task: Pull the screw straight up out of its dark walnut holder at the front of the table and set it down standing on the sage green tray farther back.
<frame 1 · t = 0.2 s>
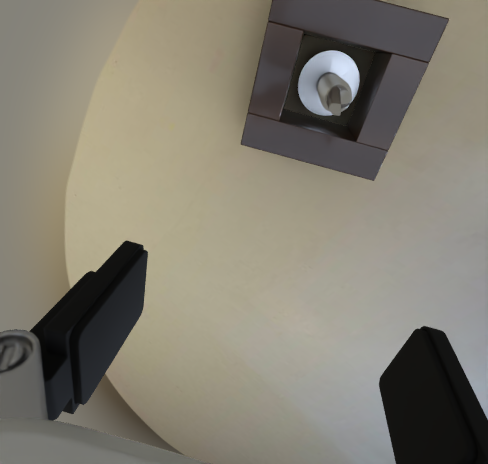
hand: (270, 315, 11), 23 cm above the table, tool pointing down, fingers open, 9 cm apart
screw: (326, 82, 28), on the table
holder: (326, 82, 28), on the table
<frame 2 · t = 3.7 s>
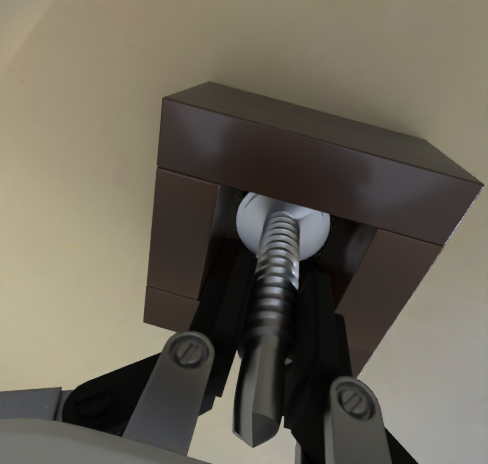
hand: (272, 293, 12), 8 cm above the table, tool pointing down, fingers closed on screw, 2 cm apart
screw: (284, 206, 19), on the table, touching gripper
holder: (284, 207, 19), on the table
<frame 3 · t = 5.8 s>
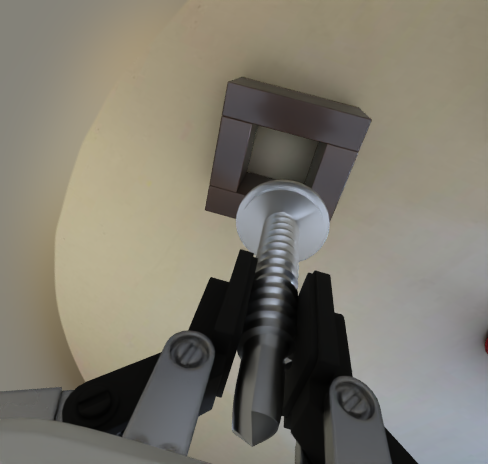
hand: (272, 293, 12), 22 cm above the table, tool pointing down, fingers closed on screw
screw: (284, 207, 19), point 15 cm above the table, touching gripper
holder: (283, 151, 32), on the table
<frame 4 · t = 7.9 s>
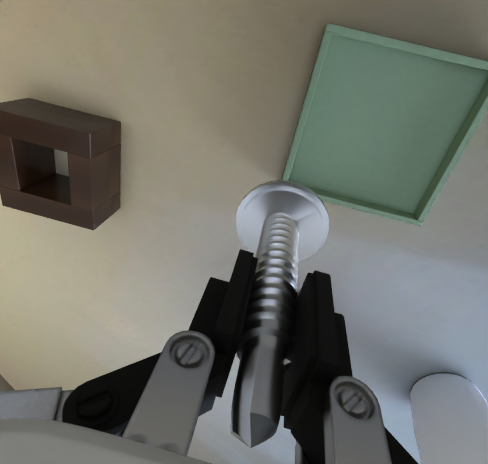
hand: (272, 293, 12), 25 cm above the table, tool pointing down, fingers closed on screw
screw: (283, 207, 19), point 17 cm above the table, touching gripper
tray: (374, 131, 32), on the table
holder: (77, 156, 39), on the table
bottle: (441, 390, 48), on the table
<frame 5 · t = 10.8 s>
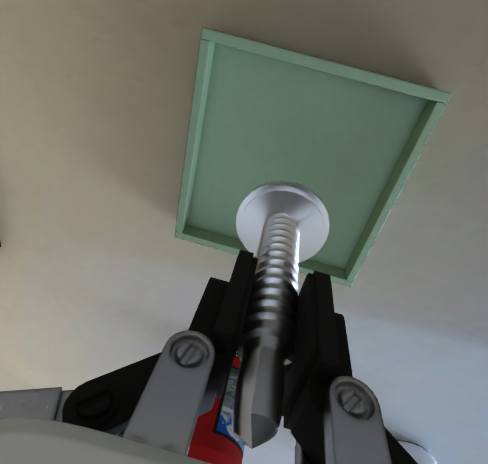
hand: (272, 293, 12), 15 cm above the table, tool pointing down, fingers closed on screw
screw: (284, 208, 19), point 7 cm above the table, touching gripper
tray: (289, 168, 25), on the table
beverage can: (227, 365, 38), on the table
bottle: (395, 457, 41), on the table
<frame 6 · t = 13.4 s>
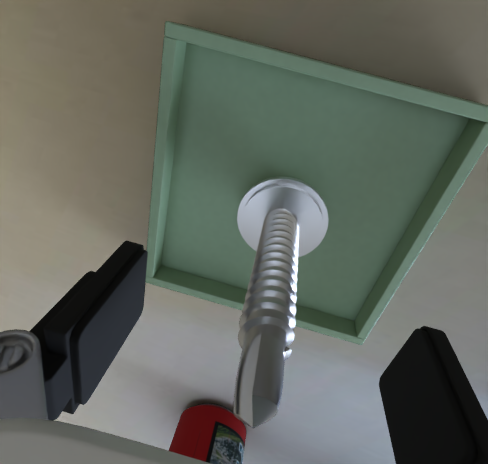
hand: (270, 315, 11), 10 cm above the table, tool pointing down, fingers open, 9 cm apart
screw: (284, 204, 19), point 1 cm above the table, touching tray
tray: (286, 200, 20), on the table
beverage can: (215, 416, 33), on the table
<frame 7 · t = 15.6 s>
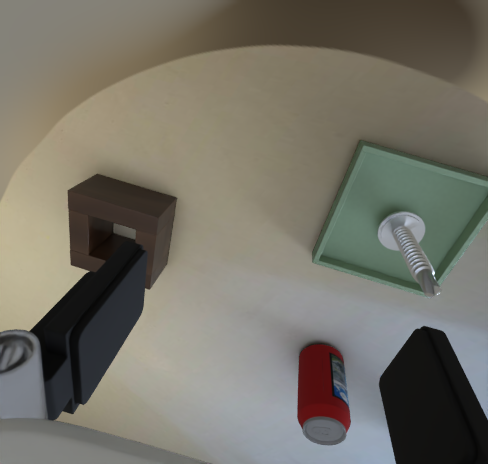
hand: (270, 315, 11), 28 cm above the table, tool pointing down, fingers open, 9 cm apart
screw: (396, 222, 38), point 1 cm above the table, touching tray
tray: (395, 220, 38), on the table
beverage can: (320, 354, 51), on the table
holder: (134, 221, 45), on the table
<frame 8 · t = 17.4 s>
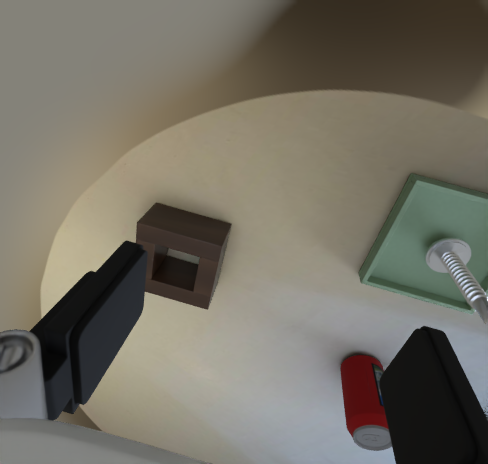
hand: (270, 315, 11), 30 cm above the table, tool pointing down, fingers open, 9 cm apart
screw: (441, 246, 41), point 1 cm above the table, touching tray
tray: (440, 243, 41), on the table
beverage can: (360, 363, 54), on the table
holder: (188, 245, 48), on the table
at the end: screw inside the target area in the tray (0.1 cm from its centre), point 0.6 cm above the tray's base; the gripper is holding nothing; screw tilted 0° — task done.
